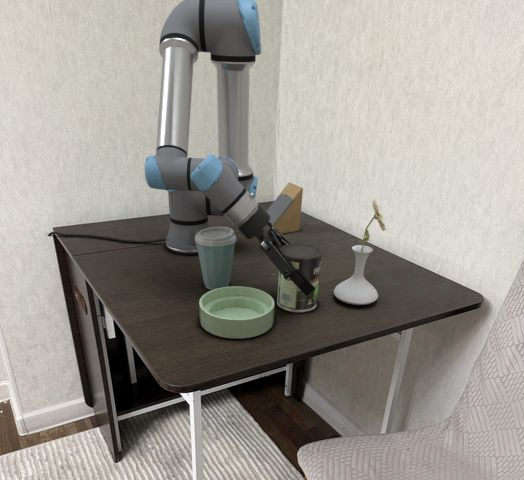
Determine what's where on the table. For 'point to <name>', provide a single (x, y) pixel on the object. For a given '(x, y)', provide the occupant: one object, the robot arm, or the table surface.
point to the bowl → (236, 312)
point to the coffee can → (309, 265)
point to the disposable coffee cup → (216, 255)
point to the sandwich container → (287, 209)
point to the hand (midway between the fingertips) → (310, 282)
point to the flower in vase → (360, 272)
